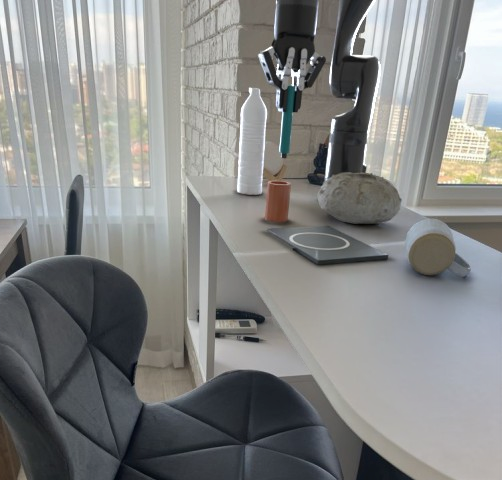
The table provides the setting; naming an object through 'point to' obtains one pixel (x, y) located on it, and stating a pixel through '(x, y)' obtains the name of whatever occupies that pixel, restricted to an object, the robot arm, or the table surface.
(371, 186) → the grey rounded lump
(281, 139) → the marker
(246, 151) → the water bottle
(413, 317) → the table surface
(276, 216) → the pen cup
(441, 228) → the ceramic mug
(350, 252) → the slate board
